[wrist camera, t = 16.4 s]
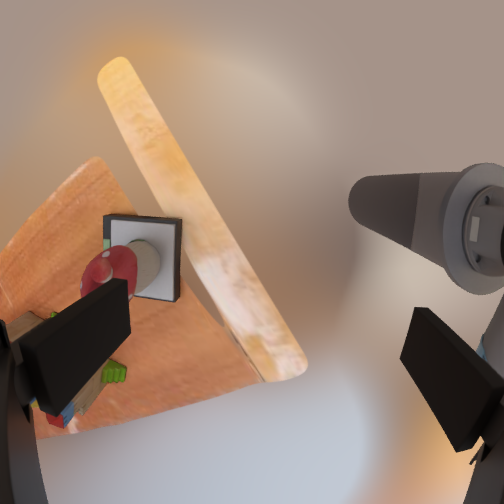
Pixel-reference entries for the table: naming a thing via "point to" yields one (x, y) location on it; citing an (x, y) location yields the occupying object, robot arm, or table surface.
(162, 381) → the table surface
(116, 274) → the decorative ornament
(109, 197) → the table surface
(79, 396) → the block set
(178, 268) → the kitchen scale
